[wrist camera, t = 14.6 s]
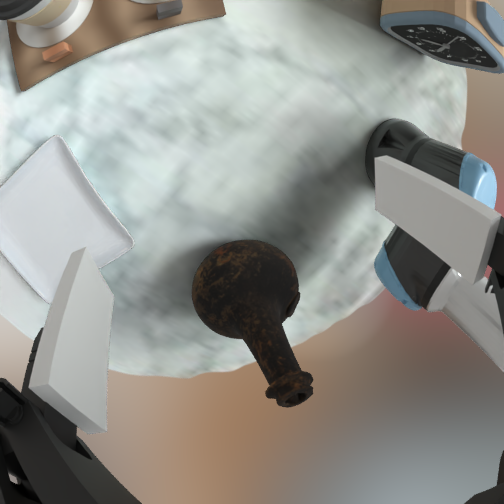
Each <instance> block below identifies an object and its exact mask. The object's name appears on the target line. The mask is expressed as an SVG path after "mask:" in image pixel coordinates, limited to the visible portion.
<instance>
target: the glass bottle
mask: <svg viewBox="0 0 504 504" xmlns="http://www.w3.org/2000/svg"><path fill="white" fill-rule="evenodd" d="M298 287H299V284H298V278H297V273H296V270H295V268H294V265H293V263H292V262H291V261H290V259H289V258H288V257H287V256H286V255H285V254H284V253H283V252H282V251H281V250H279V249H278V248H276V247H274V246H273V245H270V244H268V243H265V242H262V241H258V240H238V241H233V242H230V243H227V244H225V245H223V246H221V247H219V248H217V249H216V250H214V251H213V252H212V253H210V254H209V255H208V256H207V257H206V258H205V259H204V261H203V262H202V263H201V265H200V266H199V268H198V270H197V272H196V274H195V277H194V280H193V285H192V300H193V304H194V307H195V310H196V312H197V314H198V316H199V317H200V319H201V320H202V321H203V322H204V324H205V325H206V326H208V327H209V328H210V329H211V330H213V331H214V332H216V333H218V334H220V335H223V336H225V337H229V338H234V339H243V340H244V342H245V343H246V344H247V346H248V348H249V349H250V351H251V352H252V354H253V356H254V358H255V359H256V361H257V363H258V364H259V366H260V368H261V370H262V372H263V374H264V375H265V377H266V379H267V381H268V383H269V385H270V386H269V387H268V388H267V390H266V393H265V394H266V397H267V398H274V399H276V401H277V404H278V405H279V406H282V407H293V406H296V405H298V404H301V403H302V402H304V401H305V400H307V399H308V398H309V397H310V396H311V395H312V394H313V387H312V386H310V385H311V383H312V382H313V378H312V375H311V374H310V373H308V372H304V371H301V368H300V367H299V364H298V362H297V360H296V358H295V356H294V353H293V351H292V349H291V347H290V344H289V342H288V339H287V337H286V334H285V332H284V329H283V326H282V323H283V322H284V321H285V320H286V319H287V317H291V316H292V314H293V313H294V311H295V308H296V306H297V304H298V302H299V300H300V292H298V290H299V288H298Z"/></svg>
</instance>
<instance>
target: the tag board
mask: <svg viewBox="0 0 504 504" xmlns="http://www.w3.org/2000/svg"><path fill="white" fill-rule="evenodd" d="M225 14H226V12H225V8H224V4H223V0H79V2H78V6H77V8H76V10H75V12H74V13H73V14H72V16H71V17H70V18H69V19H68V20H66V21H65V22H64V23H62V24H61V25H59V26H56V27H53V28H44V27H40V26H31V25H27V24H22V23H17V22H12V21H8V20H7V24H8V31H9V38H10V44H11V49H12V54H13V59H14V64H15V69H16V73H17V77H18V81H19V85H20V89H21V91H26V90H28V89H29V88H31V87H32V86H34V85H36V84H37V83H39V82H41V81H43V80H44V79H46V78H48V77H50V76H51V75H53V74H55V73H57V72H59V71H61V70H63V69H65V68H67V67H69V66H71V65H73V64H75V63H77V62H79V61H81V60H83V59H85V58H87V57H90V56H92V55H94V54H97V53H99V52H101V51H104V50H106V49H109V48H111V47H114V46H116V45H119V44H121V43H124V42H127V41H130V40H133V39H135V38H138V37H141V36H144V35H148V34H151V33H154V32H157V31H161V30H164V29H168V28H172V27H175V26H179V25H183V24H187V23H192V22H196V21H201V20H206V19H211V18H216V17H222V16H224V15H225Z"/></svg>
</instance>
